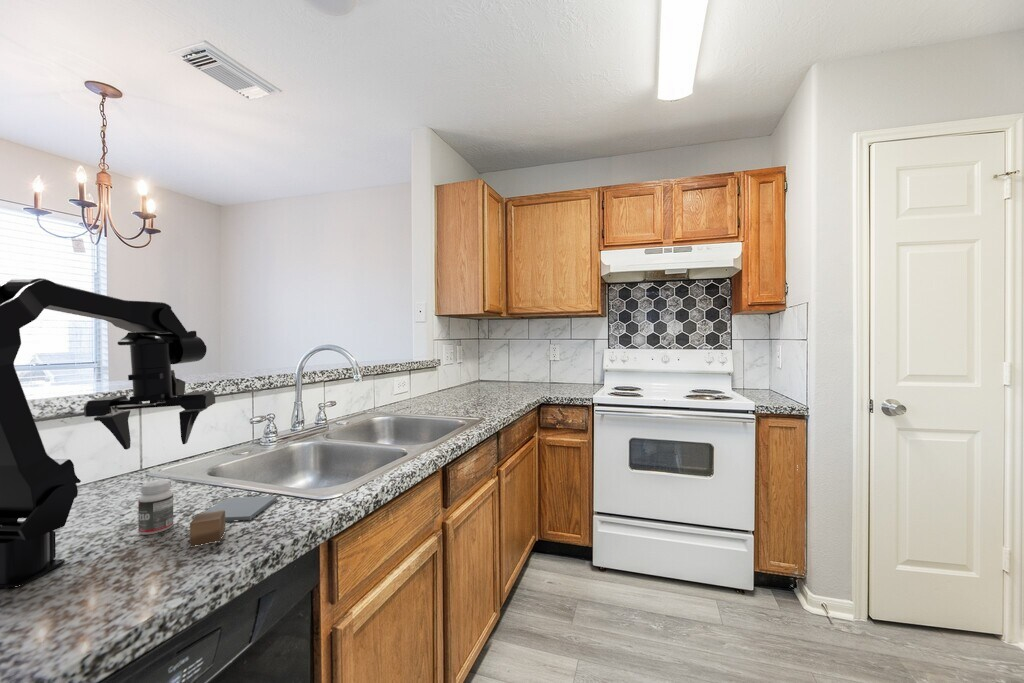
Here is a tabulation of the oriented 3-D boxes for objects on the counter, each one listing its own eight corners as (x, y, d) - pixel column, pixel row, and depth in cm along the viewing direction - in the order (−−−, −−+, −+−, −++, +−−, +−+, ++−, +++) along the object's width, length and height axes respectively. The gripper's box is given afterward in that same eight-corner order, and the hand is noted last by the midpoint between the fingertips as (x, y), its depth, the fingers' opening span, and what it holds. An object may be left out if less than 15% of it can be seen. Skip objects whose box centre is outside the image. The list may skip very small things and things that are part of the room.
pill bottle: (133, 531, 72) (132, 484, 72) (165, 521, 76) (165, 476, 76) (145, 537, 70) (145, 489, 70) (178, 526, 74) (178, 480, 74)
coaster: (250, 520, 76) (250, 516, 76) (193, 522, 75) (193, 518, 75) (276, 499, 86) (276, 496, 86) (226, 501, 85) (226, 497, 85)
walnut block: (219, 542, 68) (219, 518, 68) (190, 548, 66) (190, 523, 66) (225, 532, 71) (225, 510, 72) (197, 537, 70) (197, 514, 70)
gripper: (222, 361, 89) (226, 430, 90) (116, 365, 84) (121, 439, 84) (202, 366, 79) (206, 445, 80) (78, 371, 73) (85, 457, 74)
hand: (156, 446), depth 80 cm, fingers open, 9 cm apart
